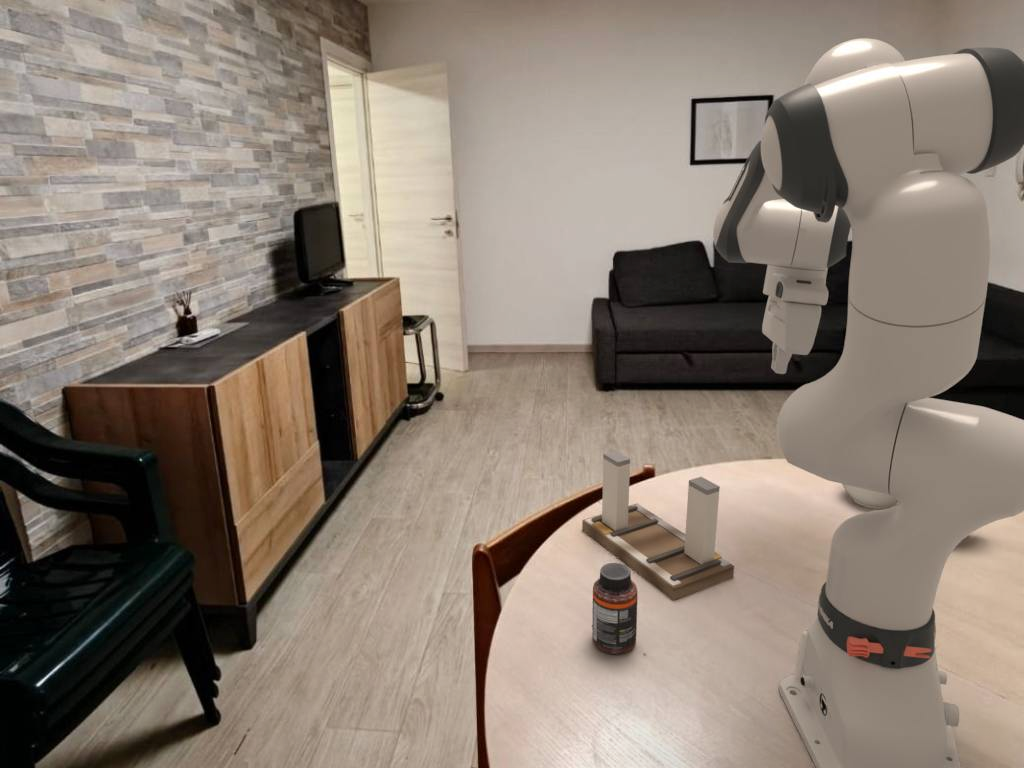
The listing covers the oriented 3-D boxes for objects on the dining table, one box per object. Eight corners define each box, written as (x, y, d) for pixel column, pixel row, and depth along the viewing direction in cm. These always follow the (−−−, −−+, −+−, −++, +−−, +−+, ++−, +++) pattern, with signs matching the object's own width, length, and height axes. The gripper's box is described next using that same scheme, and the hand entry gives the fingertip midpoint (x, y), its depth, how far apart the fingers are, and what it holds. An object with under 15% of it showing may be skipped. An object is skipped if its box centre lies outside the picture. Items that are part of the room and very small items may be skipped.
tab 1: (627, 527, 124) (630, 459, 120) (615, 531, 123) (617, 462, 119) (613, 518, 127) (615, 450, 123) (601, 521, 126) (603, 453, 122)
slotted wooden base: (733, 577, 113) (734, 562, 113) (673, 600, 108) (674, 585, 107) (636, 513, 133) (637, 500, 133) (582, 530, 128) (582, 517, 127)
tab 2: (713, 560, 114) (719, 486, 110) (701, 564, 113) (707, 490, 109) (696, 548, 117) (701, 476, 113) (684, 553, 116) (688, 480, 112)
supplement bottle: (609, 622, 103) (611, 552, 100) (644, 641, 99) (647, 569, 96) (583, 643, 99) (584, 570, 96) (618, 663, 95) (621, 588, 92)
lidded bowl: (913, 495, 138) (922, 441, 135) (905, 523, 128) (915, 466, 125) (842, 479, 145) (849, 428, 141) (829, 505, 135) (836, 450, 131)
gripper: (761, 278, 125) (747, 357, 128) (786, 290, 105) (770, 383, 108) (799, 282, 124) (784, 361, 127) (832, 294, 104) (814, 388, 107)
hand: (778, 371), depth 117 cm, fingers closed
